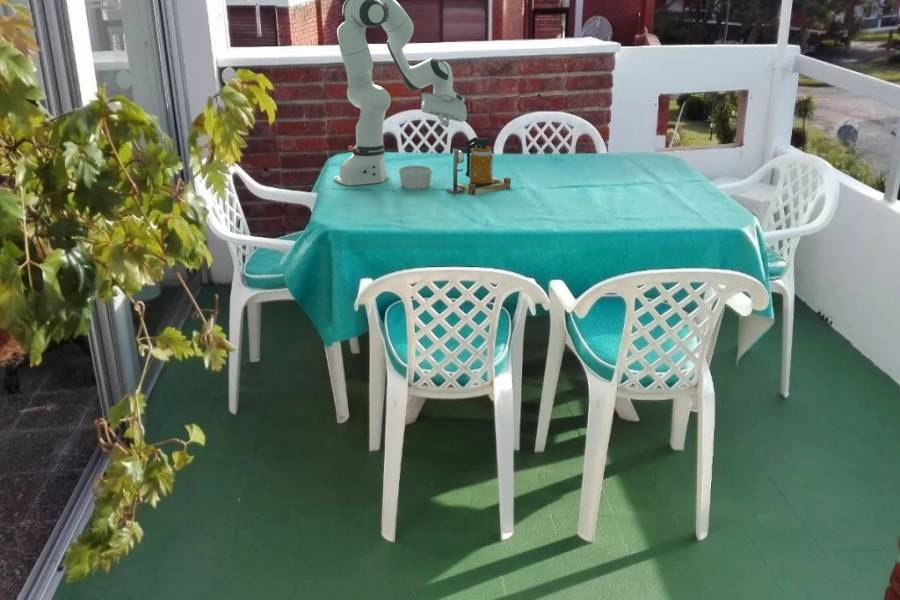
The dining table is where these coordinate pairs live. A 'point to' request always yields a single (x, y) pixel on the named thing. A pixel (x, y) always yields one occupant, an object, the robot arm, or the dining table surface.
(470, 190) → the cradle
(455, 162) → the mirror on stand
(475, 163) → the canister
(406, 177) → the ramekin
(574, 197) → the dining table surface
